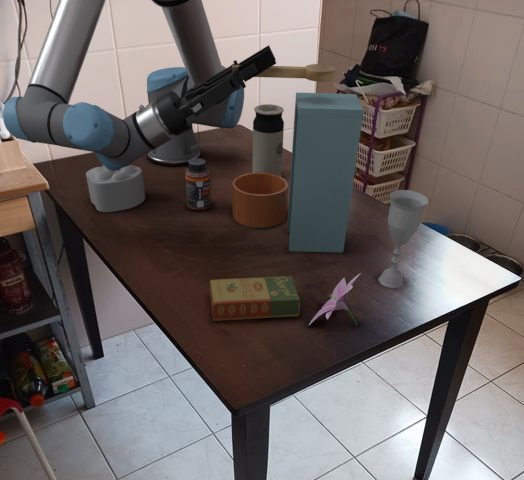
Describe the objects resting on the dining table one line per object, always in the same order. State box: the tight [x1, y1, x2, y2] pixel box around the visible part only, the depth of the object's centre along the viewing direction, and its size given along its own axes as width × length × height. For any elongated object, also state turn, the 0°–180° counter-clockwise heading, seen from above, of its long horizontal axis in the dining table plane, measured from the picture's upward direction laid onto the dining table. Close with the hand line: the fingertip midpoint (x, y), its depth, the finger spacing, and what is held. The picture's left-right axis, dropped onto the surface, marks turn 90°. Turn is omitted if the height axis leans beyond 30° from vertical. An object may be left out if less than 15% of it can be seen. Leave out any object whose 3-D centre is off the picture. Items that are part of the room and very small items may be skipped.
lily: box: [308, 272, 362, 326], centre depth 98 cm, size 12×12×10 cm
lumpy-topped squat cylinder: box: [85, 164, 146, 213], centre depth 133 cm, size 10×13×9 cm
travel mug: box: [251, 103, 285, 177], centre depth 143 cm, size 8×8×18 cm
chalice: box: [378, 189, 429, 289], centre depth 105 cm, size 7×7×18 cm
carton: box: [209, 275, 301, 322], centre depth 101 cm, size 8×16×4 cm, turn 98°
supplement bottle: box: [184, 158, 212, 211], centre depth 131 cm, size 6×6×11 cm
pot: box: [231, 172, 289, 229], centre depth 129 cm, size 13×13×8 cm
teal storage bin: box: [286, 92, 365, 253], centre depth 113 cm, size 10×12×30 cm
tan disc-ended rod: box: [231, 63, 336, 83], centre depth 100 cm, size 19×6×2 cm, turn 91°
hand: (272, 54), depth 98 cm, fingers closed on tan disc-ended rod, 2 cm apart
